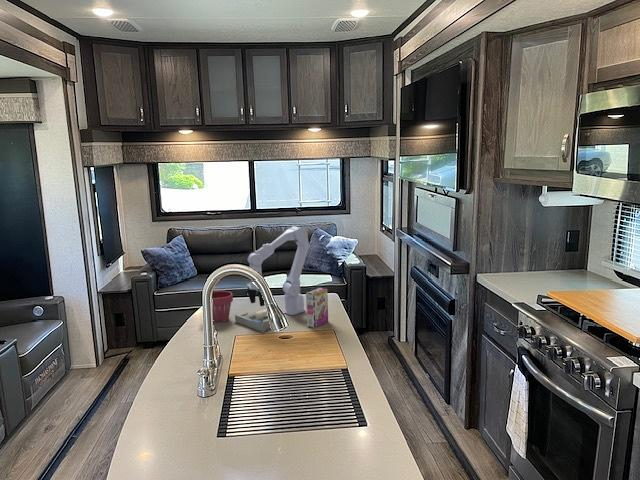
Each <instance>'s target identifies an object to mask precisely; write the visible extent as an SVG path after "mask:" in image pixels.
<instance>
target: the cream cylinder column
mask: <svg viewBox="0 0 640 480" xmlns="http://www.w3.org/2000/svg"><path fill="white" fill-rule="evenodd" d="M266 310H267V309H262V310H259V311H256V312H254V313H250V314H249V313H248V315H246V316H244V317H249V316H253V315H255V316H256V319H258V318H263V319H264V318H266V317H268V316H267V311H266Z"/></svg>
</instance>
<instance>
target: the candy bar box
mask: <svg viewBox="0 0 640 480" xmlns="http://www.w3.org/2000/svg"><path fill="white" fill-rule="evenodd" d="M328 291H329V290H328V288H323V287H318V288H315V289H313V290H310V291H307V292H305V301H306V304H305V305H306V306H305V307H306V327H308V328H311V329H312V328H313V329H316V328H318V327H320V326H322V325H324V324H326V323H328V322H329V303H328V302H329V301H328V300H329V297H328V296H329V295H328V294H329V293H328Z"/></svg>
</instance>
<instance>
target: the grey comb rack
mask: <svg viewBox="0 0 640 480" xmlns="http://www.w3.org/2000/svg"><path fill="white" fill-rule="evenodd" d="M246 315H249V312H244V313H240V314H239V313H238V314H235V315H234V320H235V321H234V322H235V323H238V324H240V325H242V326H246V327H248V328H251V329H254V330H256V331H258V332H262V333H264V332H266V331H267V330H270V329H271V328H270V324H269V320H266V321H264V318H258V319H256V316H255V315H253V316H249V317H244V316H246Z"/></svg>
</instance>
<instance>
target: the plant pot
mask: <svg viewBox="0 0 640 480" xmlns="http://www.w3.org/2000/svg"><path fill="white" fill-rule="evenodd" d="M212 292H213V297H212V299H213V320H214V322H215V323H219V322H220V323H221V322H225V321H227V320H229V317H230V312H231V306H232V305H231V304H232V303H233V300H234V297H233V293H232V291H227V290H216V291H212Z"/></svg>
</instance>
